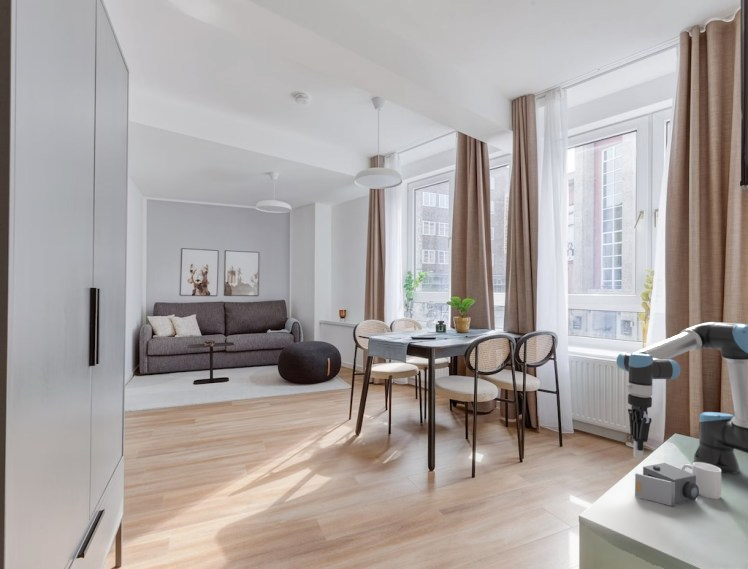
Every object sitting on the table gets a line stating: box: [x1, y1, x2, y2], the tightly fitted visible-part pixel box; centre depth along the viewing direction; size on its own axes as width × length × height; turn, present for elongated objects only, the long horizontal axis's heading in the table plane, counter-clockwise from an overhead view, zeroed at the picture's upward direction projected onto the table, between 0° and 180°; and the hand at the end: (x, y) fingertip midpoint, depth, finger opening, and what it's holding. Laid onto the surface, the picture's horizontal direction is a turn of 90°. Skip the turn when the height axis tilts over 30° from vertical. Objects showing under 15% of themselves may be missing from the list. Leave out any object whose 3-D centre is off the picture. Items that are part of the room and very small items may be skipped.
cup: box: [680, 462, 722, 500], centre depth 151 cm, size 8×12×10 cm
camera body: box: [642, 462, 699, 506], centre depth 146 cm, size 12×13×10 cm
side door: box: [634, 473, 676, 507], centre depth 142 cm, size 2×12×8 cm, turn 56°
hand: (638, 457), depth 150 cm, fingers closed
